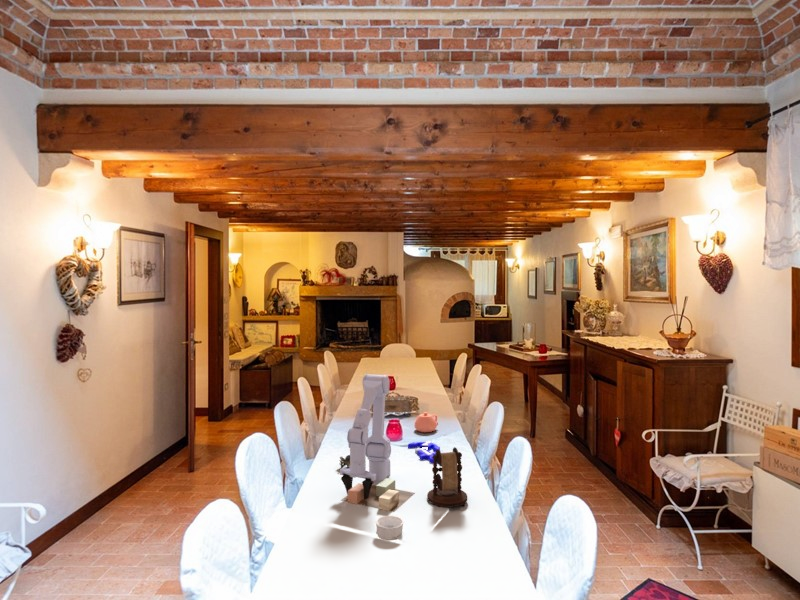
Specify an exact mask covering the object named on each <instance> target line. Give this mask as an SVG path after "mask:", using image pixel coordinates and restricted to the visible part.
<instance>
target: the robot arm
mask: <svg viewBox="0 0 800 600" xmlns="http://www.w3.org/2000/svg"><path fill="white" fill-rule="evenodd" d="M361 381H362V382H361V383H362V388H363V392H364V393H363V397H362V401H361V402H362V403H361V407H360V408H359V409H358V410H357V411H356V413H355V417H354V421H353V424H352V426H351V427H350V428H349V429H348V431H347V436H346V440H347V443H348V448H349V455H350V469H349V468H348V467H346V468H344V467H343V468H342V469H341V468H340V469H339V476H341V479H340V480H341V481H342V484H343V485H344V488H345V490H346V496H347V495H348V490H350V489H351V488H353V481H354V478H360V479H364V480H362V481H361V484H363V488H364V499H367V498H368V497H369V493H370V489H371V486H372V485H374V484H373V483H374V482H382V481H383V480H384V479H386V478H388V477H390V476H391V460H390V458H391V453H392V447H391V440H390V438H388V436H386V435H385V411H386V396H387V395H389V394H390V383H391V382H390V381H391V380H390V379H389V376H388V375H387V374H372V373H371V374H369V373H365V374H364V376H363V377H362V380H361ZM371 409H372V413H371ZM371 418H372V425H371V426H372V429H371V435H369V430H370V429H369V426H370V423H371V422H370V421H371ZM366 457H367V460H368V462H369V463H368V467H369V468H368V470H366V464H367V463H366Z"/></svg>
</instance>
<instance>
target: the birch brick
mask: <svg viewBox="0 0 800 600" xmlns="http://www.w3.org/2000/svg"><path fill="white" fill-rule="evenodd" d="M398 502H399V491H395V490H390V489H389V490H388V491H386V492H385V493H384V494H383V495H381V496H380V497H379V509H378V510H382V509H383V511H387V512H390V511H389V510H390V509H392V508H393V507H394V506H395V505H396V504H397V503H398Z"/></svg>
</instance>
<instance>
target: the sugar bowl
mask: <svg viewBox="0 0 800 600" xmlns="http://www.w3.org/2000/svg"><path fill="white" fill-rule="evenodd" d="M438 426H439V423H438V416H437V414H431V413H429V412H426V411H423V413H421V414H419V415H418V416H417V417H416V419H415V421H414V428H415V430H416V431H418V432H421V433H422V432H426V433H432V431H433V432H435V430H436V429H437V427H438Z"/></svg>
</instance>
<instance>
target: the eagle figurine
mask: <svg viewBox="0 0 800 600" xmlns="http://www.w3.org/2000/svg"><path fill="white" fill-rule="evenodd" d="M338 461H339V465H340V469H342V468H344V467H346V466H347V468H348V469H350V454H349V455H346V456H345V458H344V457H343V456H340V457H339V460H338Z"/></svg>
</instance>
